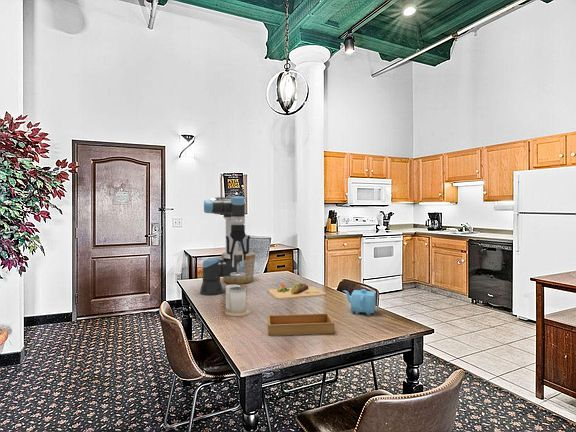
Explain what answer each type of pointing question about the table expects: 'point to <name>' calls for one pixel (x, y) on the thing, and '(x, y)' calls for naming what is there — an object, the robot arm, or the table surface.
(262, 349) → the table surface
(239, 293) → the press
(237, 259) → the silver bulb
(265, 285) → the table surface
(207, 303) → the table surface
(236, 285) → the mug
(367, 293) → the teapot
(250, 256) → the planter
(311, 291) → the cutting board
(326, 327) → the tray
